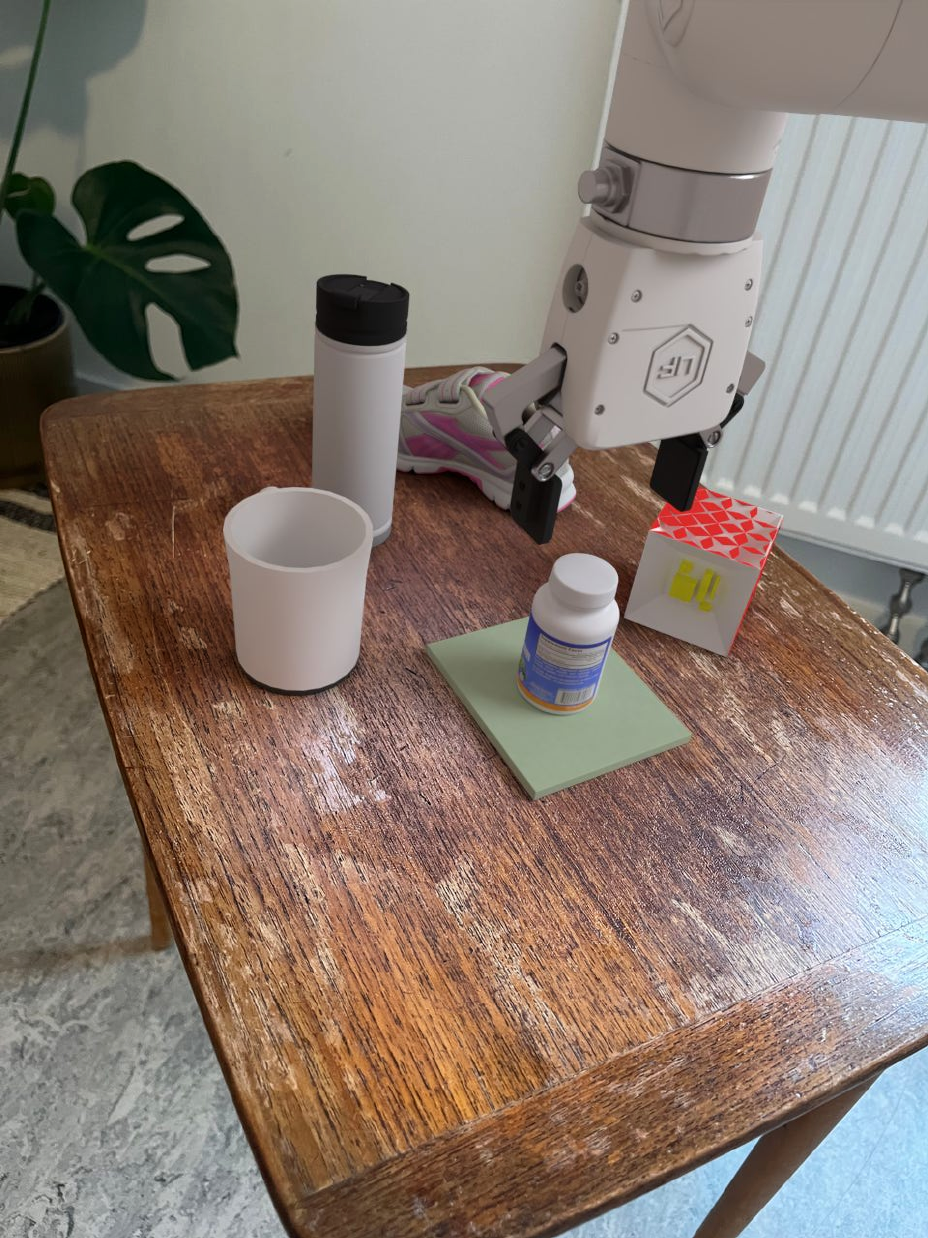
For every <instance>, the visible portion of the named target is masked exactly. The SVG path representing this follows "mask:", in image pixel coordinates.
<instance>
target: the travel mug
mask: <svg viewBox="0 0 928 1238" xmlns="http://www.w3.org/2000/svg"><path fill="white" fill-rule="evenodd" d="M315 284H316V285H315V286H316V288H315V289H316V290H315V292H316V294H315V310H316V313H315V321H314V332H315V333H314V344H313V345H314V346H313V347H314V348H313V349H314V350H313V351H314V352H313V353H314V354H313V400H312V401H313V404H312V410H313V411H312V450H311V451H312V454H311V456H312V457H311V488H314V489H319V490H324V491H329V492H332V493H335V494H337V495H340V496H343V497H346V498H347V499H349V500H351V501H352V502H354V503H355V504H357V505H359V506H360V507H361V508H362V509H363V510H364V511H365V512H366V513H367V514H368V516H369V518H370V520H371V522H372V524H373V542H372V548H371V549H373V548H375V547H378V546H380V545H381V544H383V543H384V542H385V541H386V540H387V539H388V538H389V537H390V535H391V533H392V532H391V531H392V524H393V523H392V522H393V510H394V500H395V486H396V474H397V469H396V463H397V451H398V439H399V427H400V415H401V403H402V391H403V385H404V377H405V376H404V375H405V365H406V353H407V343H408V342H407V338H408V318H409V307H410V297H411V294H410V292H409V290H408V289H406V288H405V287H403V286H402V285H401V284H397V283H394V282H390V283H386V282H382V281H377V280H374V279H368V276H367V275H360V274H352V273H351V274H350V273H338V274H337V273H336V274H328V275H324V276H320V277H319V278H318V279H317V281H316V283H315Z"/></svg>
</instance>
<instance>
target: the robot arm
mask: <svg viewBox="0 0 928 1238" xmlns="http://www.w3.org/2000/svg"><path fill="white" fill-rule="evenodd" d="M619 50H620V51H619V55H618V59H617V60H618V62H617V65H616V71H615V77H614V81H613V86H612V87H613V88H612V93H611V98H610V104H609V109H608V115H607V121H606V125H605V130H604V136H603V137H604V138H603V139H602V145H601V150H600V155H599V161H598V167H597V168H595V170H594V169H593V170H584V171H583V172H582V173H581V174H580V176H579V178H578V182H577V194H578V199H580V201H581V203H582V204H584V205H590V209H589V215H586V216H582V217H580V218H579V219H578V223H577V226H576V228H575V230H574V232H573V235H572V237H571V240H570V242H569V246H568V248H567V251H566V254H565V257H564V260H563V263H562V265H561V269H560V272H559V275H558V279H557V282H556V284H555V289H554V292H553V295H552V299H551V302H550V306H549V310H548V313H547V318H546V322H545V326H544V331H543V335H542V340H541V344H540V350H539V355H538V357H536V358H534V359H533V360H531V361H530V362H528V363H526V364H525V365H523V366H522V367H521V368H519V369H517V370H516V371H514V372H512V373H510V374H511V375H510V376H508V377H507V378H505V379H503V380H502V381H500V382H499V383H497V384H496V385H494V386H493V387H491V388H490V389H488V390H487V391H486V392H485V393H484V395H483V397H482V404H483V406H484V409H485V412H486V414H487V417H488V420H489V422H490V425H491V426H492V428H493V431H492V433H493V436H494V437H495V438H496V439H497V440H498V441H499V443H500V444H501V445H502V446H503V447H504V448H505V449H506V450H507V451H508V452H509V453H510V454H511V455H512V456H513V457H514V458H515V459H516V460H517V466H516V472H515V478H514V484H513V490H512V496H511V502H510V509H509V513H510V516H511V519H512V520H513V522H514V523H515V524H516V525H518V527H519V528H520V529H521V530H522V531H524V533H525V534H526V535H527V536H528V537H529V538H530V539H531V540H532V541H534V542H535V544H536V545H538V546H543V545H546V544H549V543H550V541H551V540H553V539H552V538H553V534H554V530H555V525H556V521H557V515H558V513H557V510H558V505H559V500H560V495H561V490H562V480H561V479H560V478H559V477H558V476H557V475H556V474H555V473H556V472H557V471H558V469H559V468H560V467H561V466H562V465H563V464H564V462H565V461H566V460H567V459H568V458H569V459H570V457H571V456H572V455H573V453H574V452H575V451H576V450H577V449H578V448H579V447H580V448H582V449H584V450H587V451H596V452H597V451H607V450H613V449H620V448H625V447H630V446H635V445H641V444H646V443H652V442H657V441H660V442H659V446H658V450H657V453H656V458H655V461H654V465H653V469H652V472H651V476H650V479H649V487H650V489H651V490H652V491H653V492H654V493H656V494H657V495H658V496H660V498H662V500H664V501H665V502H668V503H669V504H670V505H672V506H673V507H674V508H675V509H676V510H678V511H680V512H684V511H689V510H690V509H691V508H692V505H693V502H694V499H695V495H696V492H697V489H698V487H699V485H700V482H701V478H702V475H703V471H704V469H705V465H706V462H707V459H708V455H709V453H710V452H709V450H708V449H714V448H716V447H717V446H718V445H720V443H721V441H722V439H723V436H724V432H723V429H724V428H725V427H726V426H727V425H728V424H729V423H730V422H731V421H732V420H733V419H734V418H735V417H736V416H737V415H738V414H739V412H741V410H742V409H743V407H744V405H745V396H748V395H749V394H750V392H751V390H753V388H754V386H755V385H756V383H757V382H758V380H759V379H760V377H762V374H763V373H764V371H765V369H766V362H765V360H763V359H761V358H760V357H758V356H757V355H756V354H754V353H753V352H751V351H749V350H748V347H749V343H750V339H751V335H752V330H753V325H754V320H755V315H756V310H757V305H758V299H759V292H760V286H761V277H762V267H763V256H764V253H763V252H764V235H762V233H761V232H760V231H758V230H756V228H757V224H758V222H759V218H760V214H761V211H762V207H763V204H764V202H765V201H764V200H765V198H766V193H767V190H768V186H769V184H770V179H771V178H772V177H771V176H772V174H773V169H774V165H775V163H776V159H777V157H778V152H779V150H780V145H781V142H782V138H783V135H784V132H785V128H786V124H787V121H788V118H789V114H795V115H797V114H798V115H809V116H812V115H814V116H819V115H830V116H843V117H853V118H861V119H862V118H863V119H874V120H885V121H896V122H905V123H916V124H926V125H927V124H928V0H628V5H627V11H626V16H625V22H624V28H623V33H622V38H621V44H620V49H619ZM532 403H534V406H535V409H536V410H537V411H536V412H535V413H534V414H533V416H532V417H531V418H530V419H529V420H528V421H527V423H526V424H525V425H524V426H523V421H522V413H523V411H524V410H525V408H527V407H528V406H529V405H531V404H532ZM554 426H557V427H558V428H559V429H560V431H559V433H558V434H557V435H556V436H555V437H554V439H553V440H552V441H551V442H550V443H549V444H548V446H547V447H546V448H545V449H544V450H542V449H541V448H540V447H539V446H538V445H539V444H540V443H541V441H542V440H543V439H544V438H545V437H546V436H547V434H548V433H549V432H550V431H551V430H552V428H553V427H554Z"/></svg>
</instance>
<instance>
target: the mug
mask: <svg viewBox="0 0 928 1238" xmlns="http://www.w3.org/2000/svg"><path fill="white" fill-rule="evenodd" d="M222 534H223V540H224V546H225V551H226V552H225V553H226V558H227V563H228V568H229V569H228V570H229V580H230V581H229V582H230V593H231V606H232V617H233V618H232V619H233V629H234V641H235V642H234V643H235V653H236V659H237V663H238V666H239V668H240V669H241V670H242V672H243V674H244V675H245V676H246V677H247V678H248V680H250V681H252V682H253V683H254V684H256V686H257V687H260V688H262V689H265V690H267V691H270V692H272V693H277V694H280V695H286V696H308V695H316V694H320V693H323V692H325V691H329V690H330V689H334V688H335V687H337V686H338V685H340V684H341V683H343V682H344V681H346V680H347V678H348V677H349V676H350V675H351V674H352V673H353V672H354V671H355V669H356V666H357V664H358V662H359V659H360V650H361V640H362V639H361V638H362V627H363V618H364V617H363V616H364V606H365V595H366V585H367V577H368V575H367V574H368V569H369V564H370V558H371V553H372V549H373V548H372V542H373V524H372V522H371V520H370V518H369V516H368V514H367V513H366V512H365V511H364V510H363V509H362V508H361V507H360V506H359V505H357V504H355V503H354V502H352V501H351V500H349V499H347V498H346V497H343V496H340V495H337V494H335V493H332V492H329V491H324V490H319V489H314V488H312V487H298V486H290V487H281V488H280V487H277V486H267V487H264V488H262V489H260V491H259V492H257V493H255V494H252V495H250V496H248V497H246V498H244V499H242V500H241V501H239V502H238V503H237V504H236V505H234V506H233V507H231V509H230V511H229V512H228V513H227V514H226V516H225V517H224V522H223V528H222Z"/></svg>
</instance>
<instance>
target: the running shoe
mask: <svg viewBox="0 0 928 1238" xmlns="http://www.w3.org/2000/svg"><path fill="white" fill-rule="evenodd" d="M511 374H512V373H508V372H505V371H502V370H501V371H500V370H499V371H494V370H492V369H490V368H487V367H485V366H480V365H479V366H474V367H469V368H466V369H463V370H460V371H458V372H455V373H453V374H452V375H450V376H448V377H446V378H443V379H436V380H433V381H429V382H427V383H424V384H421V385H418V386H417V385H416V387H414V388H413V387H410V386H408V385H405V384H403V391H402V403H401V415H400V427H399V439H398V451H397V463H396V471H399V472H402V473H409V472H411V471H413V472H414V473H416V474H417V475H428V474H429V475H431V474H433V475H434V474H440V473H445V472H447V471H449V472H451V473H459V474H460V475H462V476H463V477H465V478H466V477H467V478H469V479H470V481H471V482H472V483H474V484H477V487H478V488H479V490H480V491H481V493H482V494H484V495H485V496H486V498H487V499H488V500H489V501H494V503H495V506H497V507H498V508H500V509H502V510H504V511H506V510H508V509H509V510H510V502H511V496H512V490H513V484H514V478H515V472H516V466H517V460H516V459H515V458H514V457H513V456H512V455H511V454H510V453H509V452H508V451H507V450H506V449H505V448H504V447H503V446H502V445H501V444H500V443H499V441H498V440H497V439H496V438H495V437H494V436H493V433H492V431H493V428H492V426H491V425H490V422H489V420H488V417H487V414H486V412H485V409H484V406H483V404H482V397H483V395H484V393H485V392H486V391H487V390H488V389H490V388H491V387H493V386H494V385H496V384H497V383H499V382H500V381H502V380H503V379H505V378H507V377H508V376H510V375H511ZM536 411H537V410H536V409H535V406H534V403H532V404H531V405H529V406H528V407H527V408H525V410H524V411H523V413H522V421H523V426H524V425H525V424H526V423H527V421H528V420H529V419H530V418H531V417H532V416H533V414H534V413H535V412H536ZM559 431H560V429H559V428H558V427H557V426H554V427H553V428H552V430H551V431H550V432H549V433H548V434H547V436H546V437H545V438H544V439H543V440H542V441H541V443H540V444H539V445H538V446H539V447H540V448H541V449H542V450H544V449H545V448H546V447H547V446H548V444H549V443H550V442H551V441H552V440H553V439H554V437H555V436H556V435H557V434H558V433H559ZM569 461H570V457H569V458H568V459H567V460H566V461H565V462H564V464H563V465H562V466H561V467H560V468H559V469H558V471H557V472H556V473H555V474H556V475H557V476H558V477H559V478H560V479H561V480H562V490H561V495H560V500H559V505H558V510H557V514H558V513H560V512H562V511H563V510H565V509H566V508H568V506H569V505H571V504H572V502H574V500H575V499H576V496H577V490H576V487H575V484H574V483H573V481H574V479H575V475H574V470H573V468H572V466H571V464H569Z"/></svg>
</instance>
